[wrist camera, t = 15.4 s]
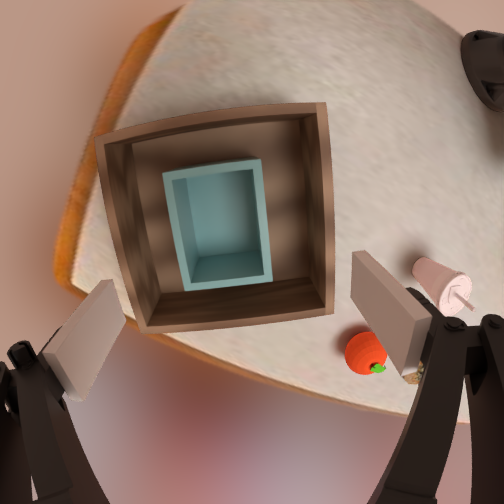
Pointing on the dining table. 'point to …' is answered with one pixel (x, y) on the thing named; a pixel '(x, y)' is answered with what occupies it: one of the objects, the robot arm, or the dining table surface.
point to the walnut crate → (277, 208)
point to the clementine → (365, 354)
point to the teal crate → (219, 223)
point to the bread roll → (415, 375)
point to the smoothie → (443, 285)
